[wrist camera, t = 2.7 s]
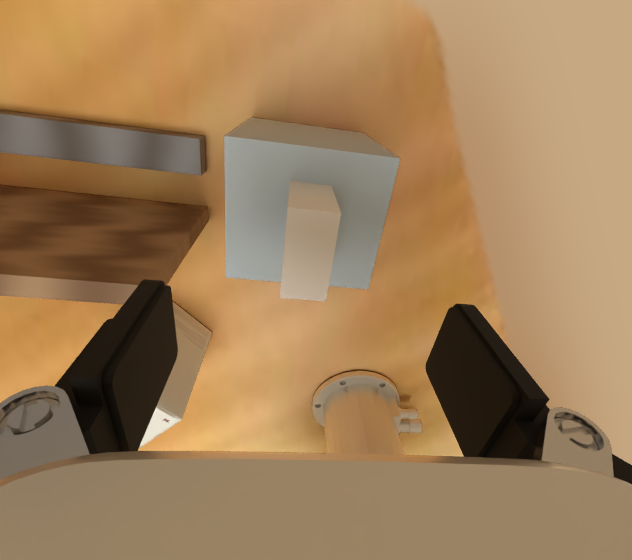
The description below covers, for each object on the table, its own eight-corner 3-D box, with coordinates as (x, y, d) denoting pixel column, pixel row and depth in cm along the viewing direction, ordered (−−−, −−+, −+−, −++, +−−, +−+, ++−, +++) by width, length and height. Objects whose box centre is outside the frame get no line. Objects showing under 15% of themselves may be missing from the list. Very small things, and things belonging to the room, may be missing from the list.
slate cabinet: (362, 132, 30) (430, 179, 15) (345, 225, 34) (384, 334, 19) (251, 117, 29) (201, 151, 14) (248, 215, 33) (208, 322, 18)
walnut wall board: (205, 135, 29) (132, 174, 16) (208, 221, 33) (152, 306, 20) (-45, 103, 27) (-354, 120, 14) (-9, 199, 31) (-226, 279, 18)
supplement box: (165, 293, 37) (111, 378, 26) (214, 332, 41) (184, 422, 30) (124, 327, 39) (59, 418, 29) (174, 361, 43) (132, 455, 32)
